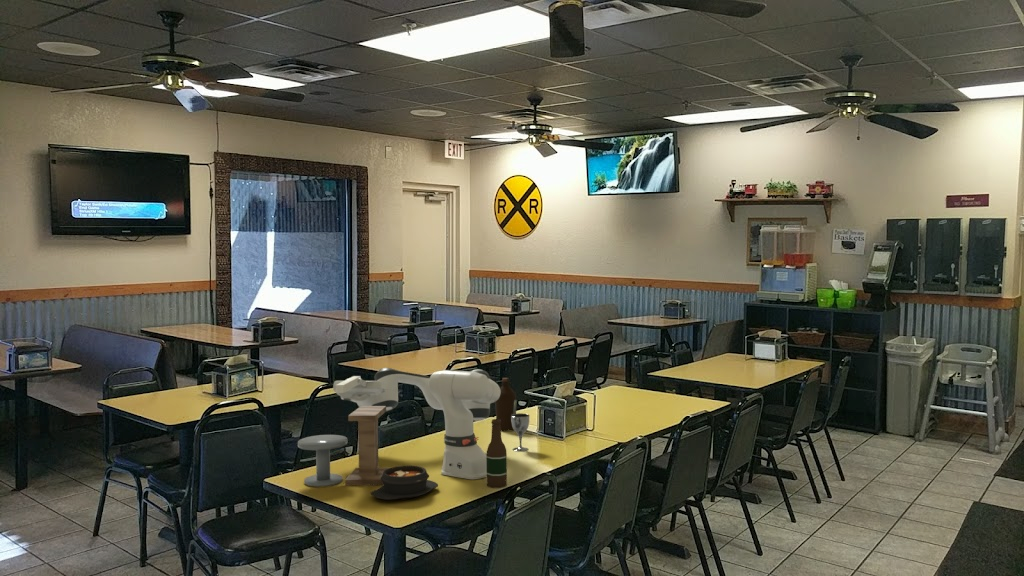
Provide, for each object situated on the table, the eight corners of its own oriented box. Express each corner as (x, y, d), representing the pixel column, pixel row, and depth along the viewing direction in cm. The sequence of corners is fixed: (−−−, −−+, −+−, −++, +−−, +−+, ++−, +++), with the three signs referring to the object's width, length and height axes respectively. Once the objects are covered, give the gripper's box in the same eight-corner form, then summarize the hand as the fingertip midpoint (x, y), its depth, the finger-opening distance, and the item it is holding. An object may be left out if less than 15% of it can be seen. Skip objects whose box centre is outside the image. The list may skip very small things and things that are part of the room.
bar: (353, 383, 305) (353, 376, 305) (360, 383, 304) (360, 376, 304) (335, 392, 281) (335, 385, 281) (343, 392, 280) (343, 385, 280)
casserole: (390, 509, 245) (390, 484, 245) (360, 496, 258) (359, 473, 258) (449, 492, 262) (449, 468, 262) (417, 481, 276) (417, 459, 275)
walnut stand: (356, 472, 289) (355, 406, 288) (392, 472, 288) (391, 406, 287) (344, 485, 271) (342, 415, 270) (382, 486, 270) (380, 415, 269)
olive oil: (495, 431, 356) (494, 380, 355) (495, 426, 367) (494, 376, 366) (517, 431, 356) (516, 379, 356) (516, 426, 367) (516, 376, 366)
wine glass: (508, 450, 319) (508, 416, 319) (515, 446, 327) (515, 412, 326) (525, 452, 316) (525, 417, 316) (532, 448, 324) (532, 414, 323)
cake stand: (357, 480, 278) (356, 439, 277) (315, 491, 264) (315, 448, 264) (330, 471, 290) (329, 432, 289) (289, 482, 277) (288, 441, 276)
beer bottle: (511, 483, 272) (510, 418, 271) (501, 489, 265) (501, 422, 264) (492, 480, 275) (491, 416, 275) (482, 486, 268) (481, 421, 267)
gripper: (385, 399, 310) (378, 387, 298) (337, 399, 311) (328, 387, 299) (387, 385, 313) (380, 373, 301) (339, 385, 314) (330, 373, 302)
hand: (354, 380), depth 300 cm, fingers closed on bar, 3 cm apart
